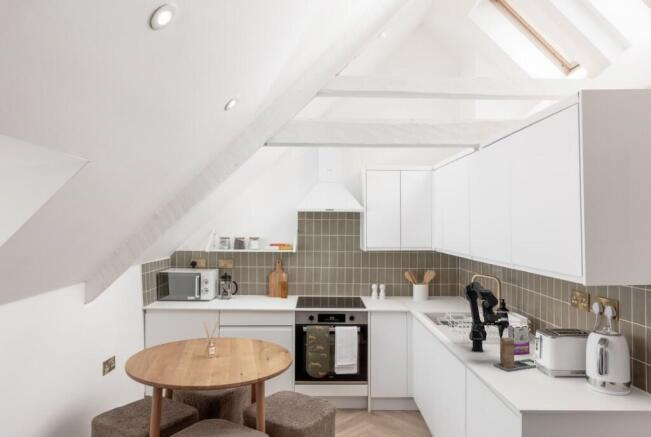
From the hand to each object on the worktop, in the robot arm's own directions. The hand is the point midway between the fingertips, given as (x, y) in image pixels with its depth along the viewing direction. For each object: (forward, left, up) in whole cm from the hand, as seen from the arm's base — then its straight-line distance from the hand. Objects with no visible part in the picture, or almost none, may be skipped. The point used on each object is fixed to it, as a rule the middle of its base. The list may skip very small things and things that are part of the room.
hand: (492, 339), depth 229 cm
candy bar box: (-26, +16, -13) cm, 33 cm away
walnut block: (+5, +7, -13) cm, 15 cm away
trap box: (+1, +13, -13) cm, 18 cm away
